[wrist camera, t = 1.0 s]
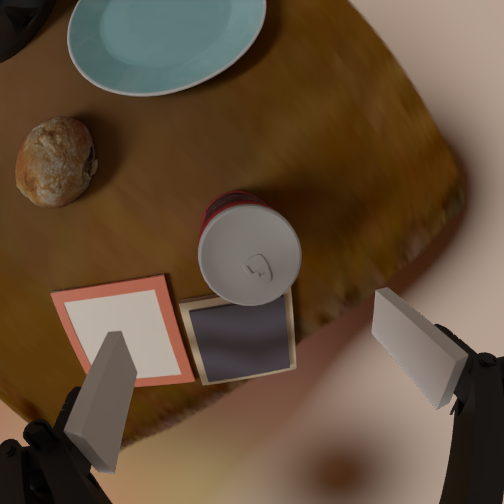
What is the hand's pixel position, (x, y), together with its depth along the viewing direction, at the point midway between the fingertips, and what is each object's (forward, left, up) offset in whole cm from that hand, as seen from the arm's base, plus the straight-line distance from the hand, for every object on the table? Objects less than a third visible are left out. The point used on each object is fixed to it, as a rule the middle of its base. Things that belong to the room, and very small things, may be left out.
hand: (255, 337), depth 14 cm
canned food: (-1, +1, -19) cm, 19 cm away
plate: (-27, -4, -20) cm, 34 cm away
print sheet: (+11, -16, -19) cm, 27 cm away
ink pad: (+13, 0, -19) cm, 23 cm away
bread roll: (-12, -18, -20) cm, 29 cm away
